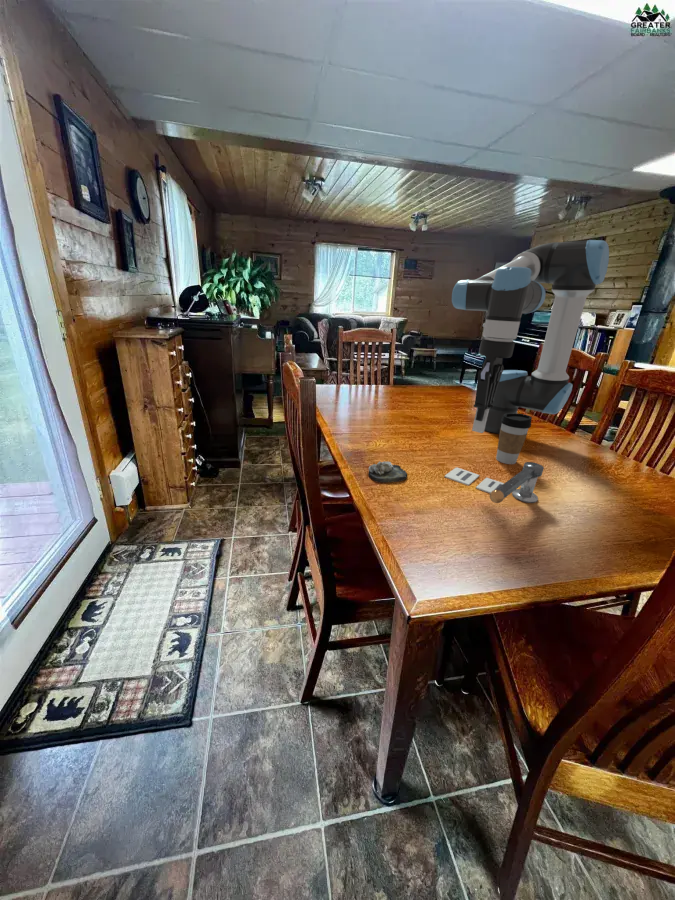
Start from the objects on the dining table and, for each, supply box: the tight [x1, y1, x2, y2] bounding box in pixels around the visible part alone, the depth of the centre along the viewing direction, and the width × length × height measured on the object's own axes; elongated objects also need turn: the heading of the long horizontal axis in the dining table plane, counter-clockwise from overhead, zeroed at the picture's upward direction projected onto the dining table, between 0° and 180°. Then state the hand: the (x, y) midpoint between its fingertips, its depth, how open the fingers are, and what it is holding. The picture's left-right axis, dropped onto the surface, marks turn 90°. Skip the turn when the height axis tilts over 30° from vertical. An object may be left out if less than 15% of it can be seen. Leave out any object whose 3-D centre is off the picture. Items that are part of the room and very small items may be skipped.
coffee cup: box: [495, 413, 533, 465], centre depth 110 cm, size 8×8×15 cm
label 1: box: [444, 467, 480, 486], centre depth 100 cm, size 8×7×1 cm
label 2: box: [475, 476, 505, 494], centre depth 95 cm, size 8×7×1 cm
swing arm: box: [489, 461, 545, 504], centre depth 82 cm, size 25×4×3 cm, turn 133°
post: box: [511, 476, 539, 504], centre depth 90 cm, size 6×6×7 cm
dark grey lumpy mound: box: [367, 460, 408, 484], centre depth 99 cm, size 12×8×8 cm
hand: (478, 431), depth 94 cm, fingers closed
